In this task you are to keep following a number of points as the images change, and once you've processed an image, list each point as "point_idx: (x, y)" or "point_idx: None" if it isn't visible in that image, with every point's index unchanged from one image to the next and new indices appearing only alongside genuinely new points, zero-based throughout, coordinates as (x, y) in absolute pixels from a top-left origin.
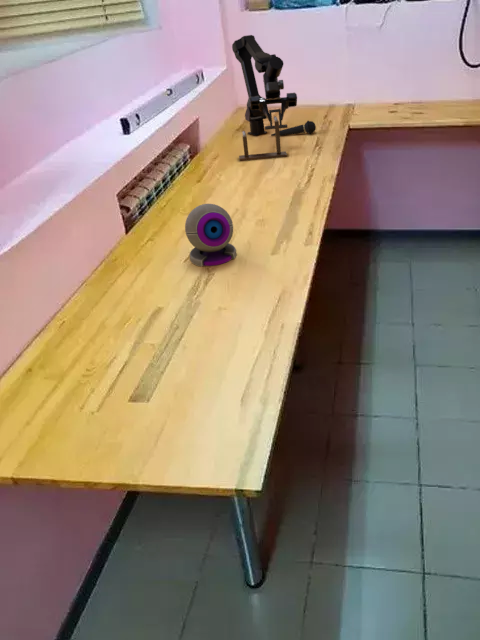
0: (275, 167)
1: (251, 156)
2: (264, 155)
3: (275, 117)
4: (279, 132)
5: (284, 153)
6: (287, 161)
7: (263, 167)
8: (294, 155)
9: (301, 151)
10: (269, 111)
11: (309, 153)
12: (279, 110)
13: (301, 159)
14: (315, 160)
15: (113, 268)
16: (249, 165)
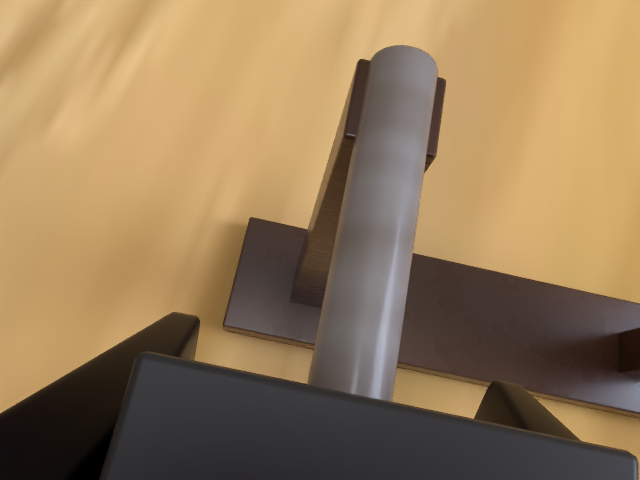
0: (421, 22)
1: (591, 329)
2: (465, 293)
3: (375, 304)
4: (326, 167)
5: (262, 253)
6: (290, 103)
7: (508, 67)
8: (167, 231)
9: (40, 327)
10: (615, 450)
11: (3, 216)
12: (199, 363)
13: (159, 90)
14: (64, 8)
15: None
16: (609, 167)
